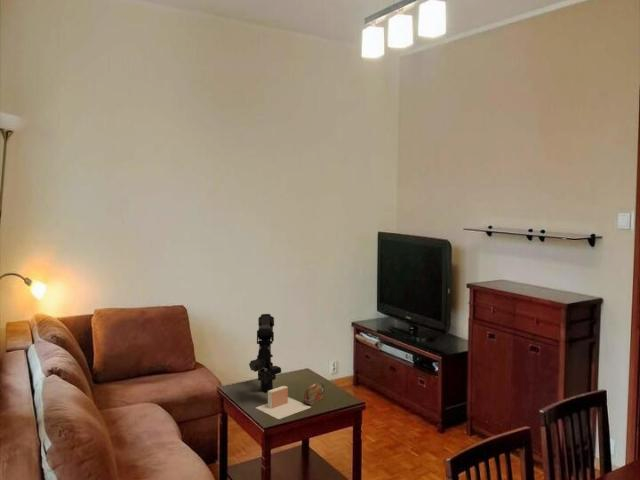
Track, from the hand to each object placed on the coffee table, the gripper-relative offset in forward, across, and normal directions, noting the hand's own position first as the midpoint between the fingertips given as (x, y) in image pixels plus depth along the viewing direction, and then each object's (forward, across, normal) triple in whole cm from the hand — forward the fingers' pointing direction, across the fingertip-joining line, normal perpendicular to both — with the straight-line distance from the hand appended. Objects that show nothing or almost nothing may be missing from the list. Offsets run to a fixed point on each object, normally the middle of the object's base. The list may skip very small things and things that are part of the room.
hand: (265, 383), depth 264 cm
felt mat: (+8, +14, 0) cm, 16 cm away
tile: (+8, +10, 0) cm, 13 cm away
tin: (+9, +18, +16) cm, 26 cm away
